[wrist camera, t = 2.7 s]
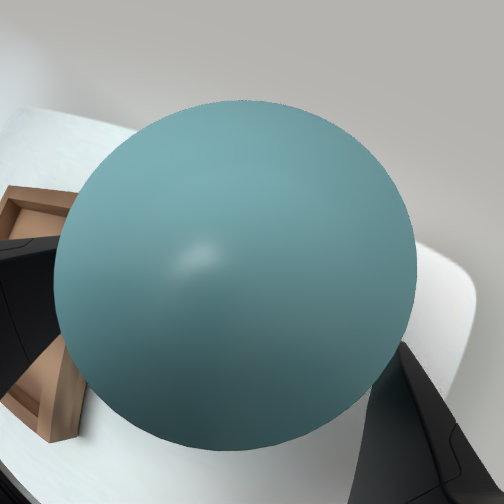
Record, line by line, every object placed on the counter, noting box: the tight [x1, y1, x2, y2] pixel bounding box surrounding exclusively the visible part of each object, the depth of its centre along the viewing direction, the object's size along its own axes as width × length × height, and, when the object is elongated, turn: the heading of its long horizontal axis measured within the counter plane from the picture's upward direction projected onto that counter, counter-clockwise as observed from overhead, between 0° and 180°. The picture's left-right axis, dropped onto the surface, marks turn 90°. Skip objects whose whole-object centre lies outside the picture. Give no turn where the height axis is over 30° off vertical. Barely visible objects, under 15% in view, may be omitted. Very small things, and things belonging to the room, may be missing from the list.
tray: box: [0, 185, 86, 443], centre depth 16 cm, size 16×14×3 cm
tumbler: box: [54, 100, 417, 451], centre depth 10 cm, size 6×6×12 cm
